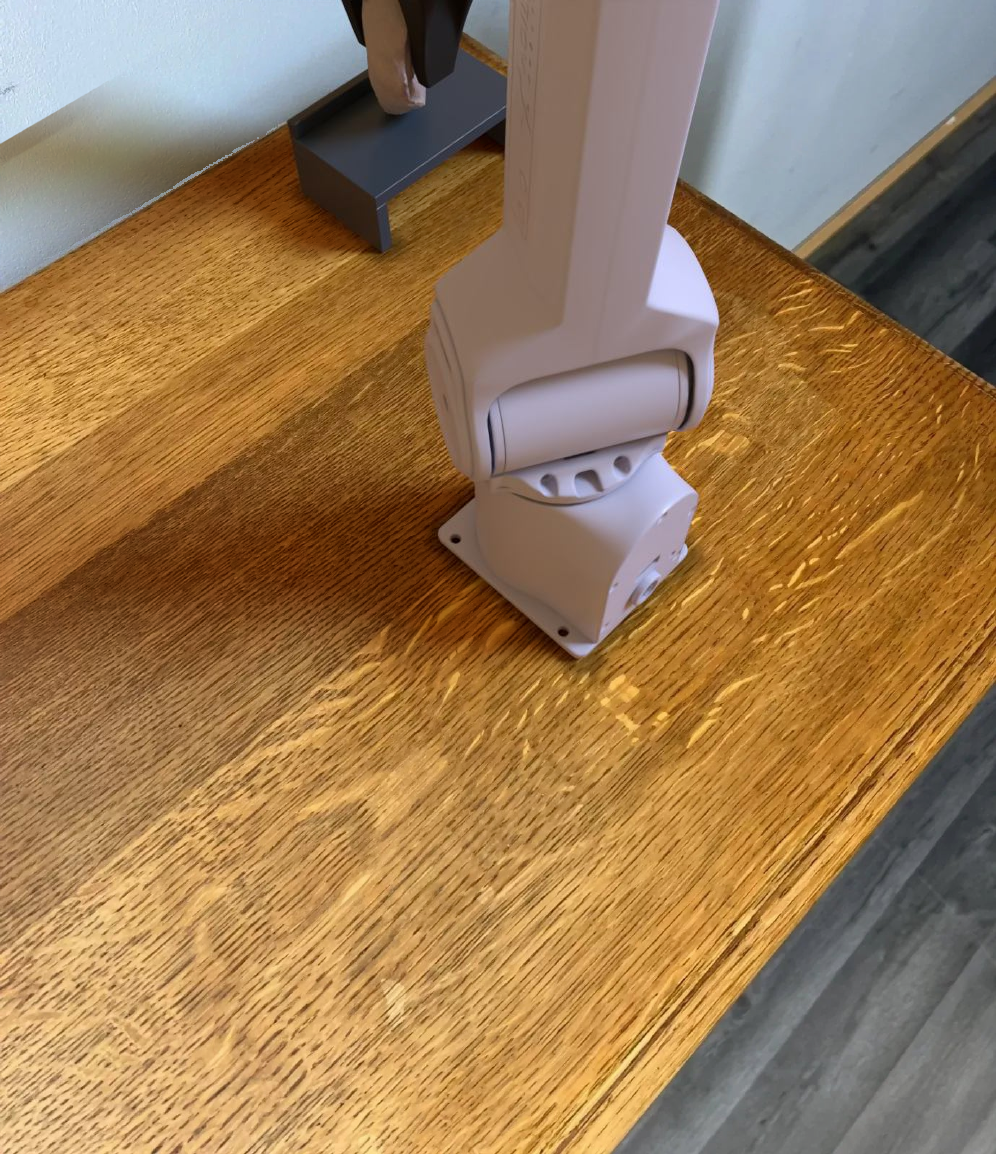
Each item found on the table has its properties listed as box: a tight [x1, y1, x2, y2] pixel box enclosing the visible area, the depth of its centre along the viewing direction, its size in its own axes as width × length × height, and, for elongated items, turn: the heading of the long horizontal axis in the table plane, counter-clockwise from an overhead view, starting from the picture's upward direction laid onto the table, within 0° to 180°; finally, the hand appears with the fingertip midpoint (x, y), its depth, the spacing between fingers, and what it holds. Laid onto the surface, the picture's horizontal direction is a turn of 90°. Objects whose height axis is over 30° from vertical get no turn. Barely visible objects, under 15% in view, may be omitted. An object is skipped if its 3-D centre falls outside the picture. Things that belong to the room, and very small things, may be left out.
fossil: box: [362, 0, 426, 115], centre depth 52 cm, size 6×4×10 cm, turn 167°
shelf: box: [286, 46, 507, 254], centre depth 58 cm, size 7×12×5 cm, turn 136°
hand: (405, 56), depth 54 cm, fingers closed on fossil, 4 cm apart
